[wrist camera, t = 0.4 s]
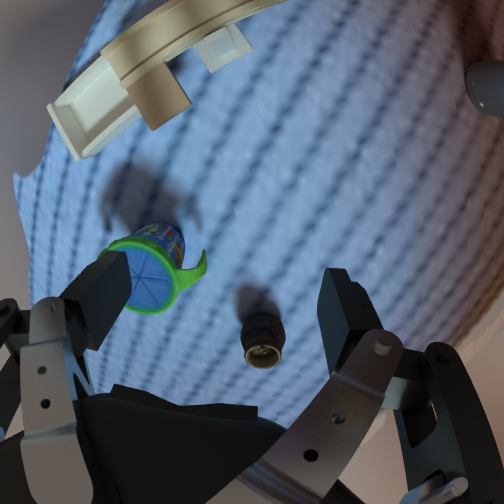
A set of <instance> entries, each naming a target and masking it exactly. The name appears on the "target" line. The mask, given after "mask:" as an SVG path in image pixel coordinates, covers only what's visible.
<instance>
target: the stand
mask: <svg viewBox="0 0 504 504" xmlns="http://www.w3.org/2000/svg"><path fill="white" fill-rule="evenodd" d="M193 47H194V49H195V50H196V52H197V53H198V55H199V56H200V58H201V59H202V60H203V62H204V63H205V65H206V66H207V68H208V69H209V71H210V72H211V73H213V72H215V71H216V70H218V69H220V68H222V67H223V66H225V65H227V64H229V63H231V62H233V61H235V60H236V59H238V58H240V57H242V56H244V55H246V54H248V53H250V52H252V51H253V49H252V47H251V46H250V44H249V43H248V42H247V40H246V39H245V37H244V36H243V34H242V33H241V32H240V30H239V29H238V27H237V26H236V25H235V23H234V24H232V25H230V26H228V27H223V28H221V29H219V30H217V31H215V32H214V33H212V34H210V35H208V36H206V37H205V38H204V40H202V41H200V42H198V43H197V44H195V45H193Z"/></svg>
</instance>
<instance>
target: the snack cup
mask: <svg viewBox="0 0 504 504" xmlns="http://www.w3.org/2000/svg"><path fill="white" fill-rule="evenodd" d="M107 250H116V251H124V252H126V254H127V258H128V264H129V270H130V275H131V281H132V293H131V296H130V298H129V300H128V302H127V303H126V305H125V306H124V307H125V308H127V309H129V310H131V311H133V312H136V313H140V314H145V315H153V314H159V313H161V312H164V311H166V310H167V309H169V308H170V307H171V306H172V305H173V303H174V302H175V300H176V298H177V296H178V293H179V292H180V291H182V290H184V289H186V288H188V287H190V286H192V285H194V284H195V283H196V282H198V281H199V280H200V279H201V278H202V277H203V276H204V274H205V273H206V270H207V261H206V251H205V250H203V252H202V256H201V258H200V261H199V262H198V265H197V267H195V268H191V269H182V264H183V260H184V254H185V244H184V242H183V239H182V237H181V235H180V234H179V232H178V231H177V230H175V229H174V228H173V227H172V226H171V225H169V224H163V223H160V222H158V223H152V224H149V225H146V226H144V227H143V228H141V229H139V230H137V231H136V232H134V233H132V234H131V235H129V236H127V237H124V238H121V239H119V240H115V241H113V242H112V243H111V244H109V248H106V249H104V250H103V251H102V252H101V253H100V255H99V256H98V258H97V260H98V259H99V258H100V257H101V256H102V255H103V254H104V253H105V252H106V251H107ZM97 260H96V261H97Z"/></svg>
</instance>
